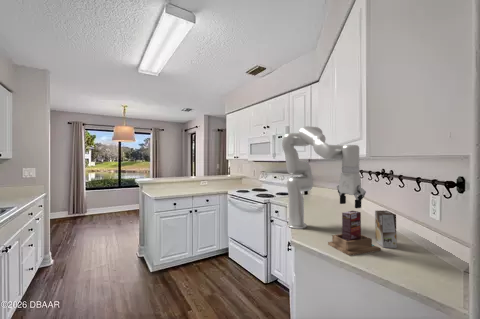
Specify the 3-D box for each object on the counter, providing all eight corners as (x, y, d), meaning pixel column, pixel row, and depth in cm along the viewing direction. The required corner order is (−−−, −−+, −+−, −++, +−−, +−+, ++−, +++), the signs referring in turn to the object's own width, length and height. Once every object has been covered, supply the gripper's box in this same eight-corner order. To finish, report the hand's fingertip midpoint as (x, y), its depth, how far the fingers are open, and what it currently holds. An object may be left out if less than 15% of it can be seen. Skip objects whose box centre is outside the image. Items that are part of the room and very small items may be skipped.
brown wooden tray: (328, 244, 113) (327, 234, 113) (356, 240, 118) (356, 230, 118) (349, 255, 100) (349, 243, 100) (380, 250, 105) (380, 239, 105)
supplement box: (351, 248, 104) (350, 214, 104) (341, 245, 108) (341, 212, 108) (361, 244, 109) (361, 212, 109) (352, 241, 113) (351, 210, 113)
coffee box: (397, 248, 107) (397, 214, 107) (382, 247, 108) (382, 214, 108) (388, 241, 116) (387, 210, 116) (374, 240, 117) (374, 210, 117)
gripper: (331, 169, 116) (331, 202, 116) (358, 171, 99) (358, 210, 100) (343, 169, 118) (343, 201, 119) (371, 171, 102) (371, 209, 102)
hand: (350, 205), depth 109 cm, fingers open, 9 cm apart
